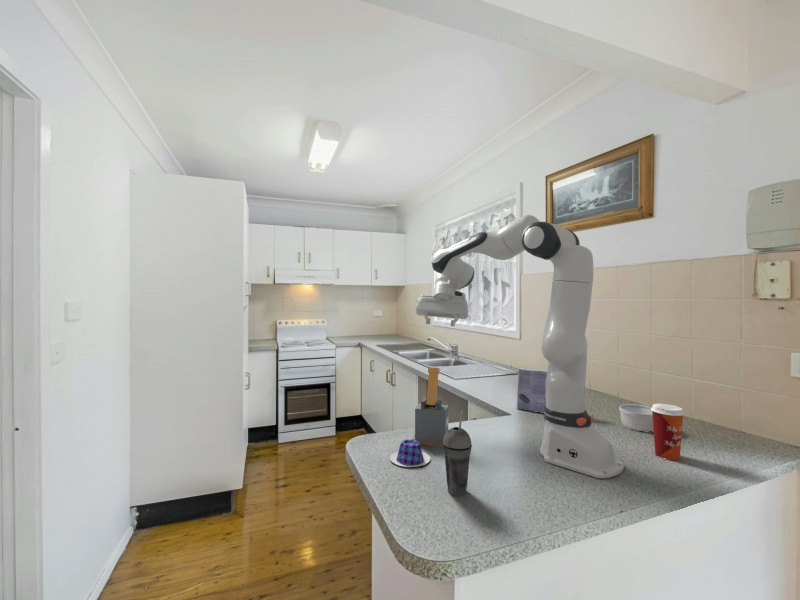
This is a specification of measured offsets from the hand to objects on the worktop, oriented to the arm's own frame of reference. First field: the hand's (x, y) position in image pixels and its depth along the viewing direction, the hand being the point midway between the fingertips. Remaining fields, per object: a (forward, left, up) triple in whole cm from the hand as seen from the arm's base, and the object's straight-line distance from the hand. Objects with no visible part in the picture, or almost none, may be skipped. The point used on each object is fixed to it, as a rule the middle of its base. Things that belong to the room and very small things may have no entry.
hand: (440, 324), depth 137 cm
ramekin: (-44, -60, -38) cm, 84 cm away
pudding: (-18, +27, -39) cm, 50 cm away
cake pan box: (-12, -46, -38) cm, 61 cm away
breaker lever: (-12, +14, -26) cm, 32 cm away
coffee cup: (-60, -39, -38) cm, 81 cm away
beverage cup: (-39, +28, -38) cm, 61 cm away
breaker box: (-11, +13, -38) cm, 42 cm away
